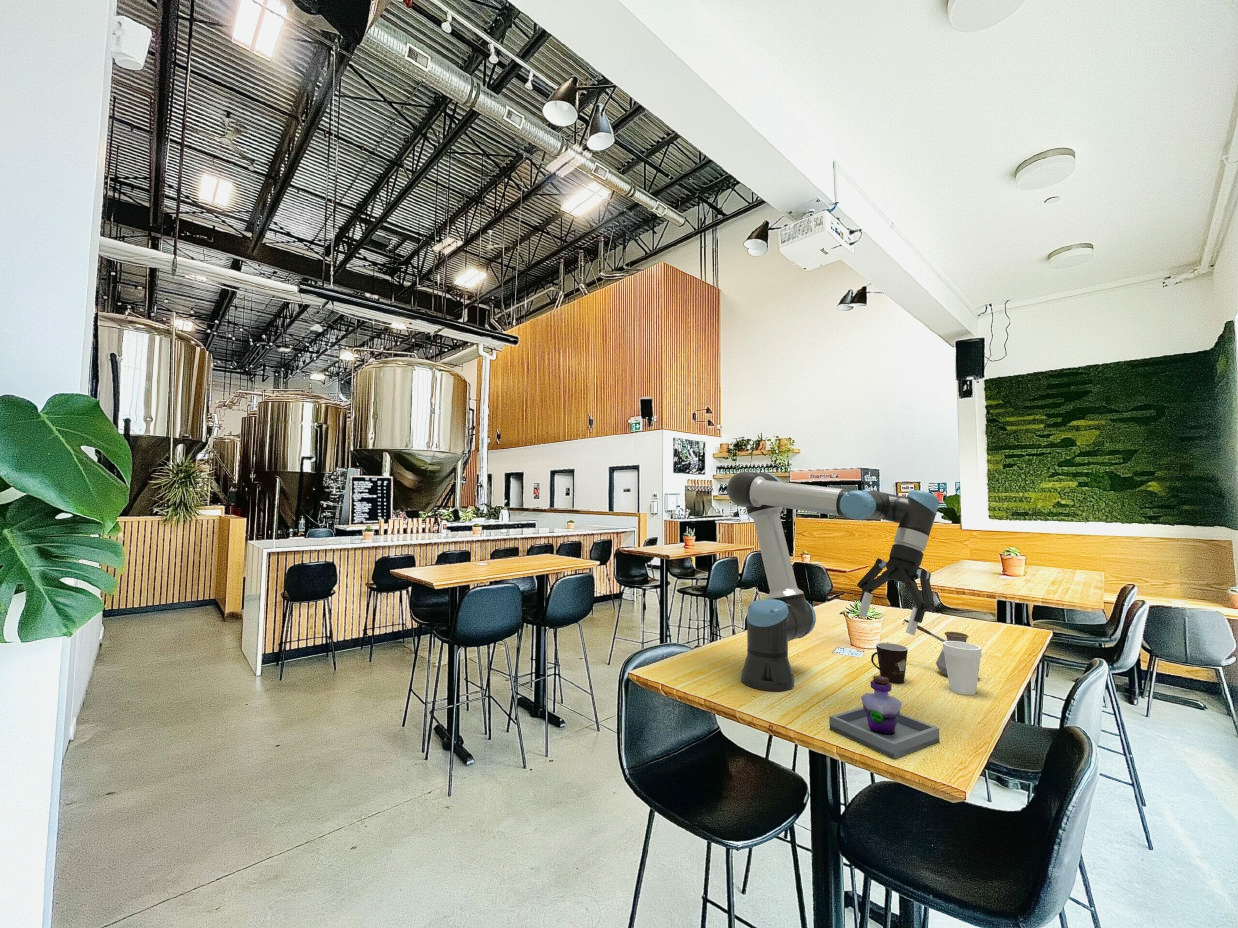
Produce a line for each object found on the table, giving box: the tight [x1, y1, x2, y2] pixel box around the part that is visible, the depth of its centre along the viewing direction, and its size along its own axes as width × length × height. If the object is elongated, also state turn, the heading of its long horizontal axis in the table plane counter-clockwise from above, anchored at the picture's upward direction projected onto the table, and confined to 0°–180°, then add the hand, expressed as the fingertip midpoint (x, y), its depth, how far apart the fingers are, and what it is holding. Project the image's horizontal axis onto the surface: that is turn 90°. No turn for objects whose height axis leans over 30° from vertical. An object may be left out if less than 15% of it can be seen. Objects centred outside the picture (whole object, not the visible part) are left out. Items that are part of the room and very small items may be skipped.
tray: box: [829, 706, 941, 760], centre depth 120 cm, size 16×17×3 cm
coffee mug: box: [870, 642, 909, 685], centre depth 159 cm, size 12×9×10 cm
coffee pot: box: [901, 618, 970, 677], centre depth 168 cm, size 21×12×15 cm, turn 45°
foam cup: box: [942, 640, 982, 696], centre depth 150 cm, size 10×9×13 cm
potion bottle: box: [860, 675, 903, 735], centre depth 121 cm, size 9×9×12 cm
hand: (884, 624), depth 135 cm, fingers open, 13 cm apart
